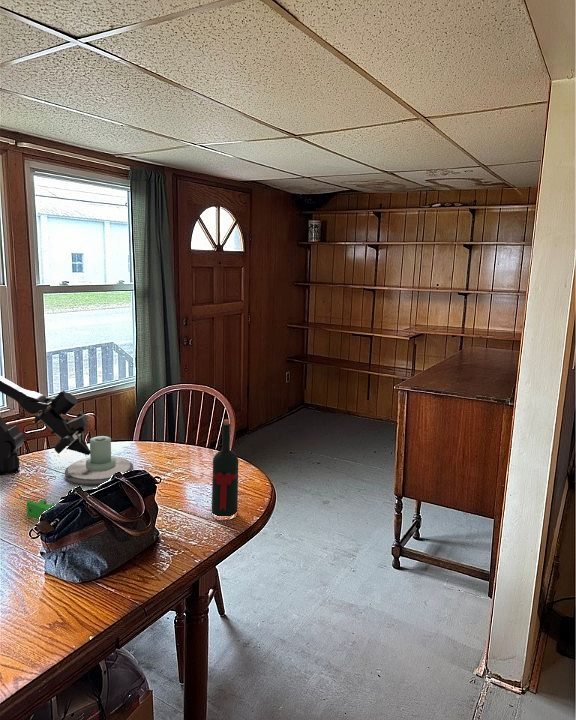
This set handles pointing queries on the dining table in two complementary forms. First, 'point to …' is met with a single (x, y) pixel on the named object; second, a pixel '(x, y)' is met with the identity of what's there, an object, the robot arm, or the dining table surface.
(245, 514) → the dining table surface
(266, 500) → the dining table surface
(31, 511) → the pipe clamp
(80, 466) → the turntable
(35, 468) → the dining table surface
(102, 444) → the sage green cylinder
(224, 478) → the wine bottle
